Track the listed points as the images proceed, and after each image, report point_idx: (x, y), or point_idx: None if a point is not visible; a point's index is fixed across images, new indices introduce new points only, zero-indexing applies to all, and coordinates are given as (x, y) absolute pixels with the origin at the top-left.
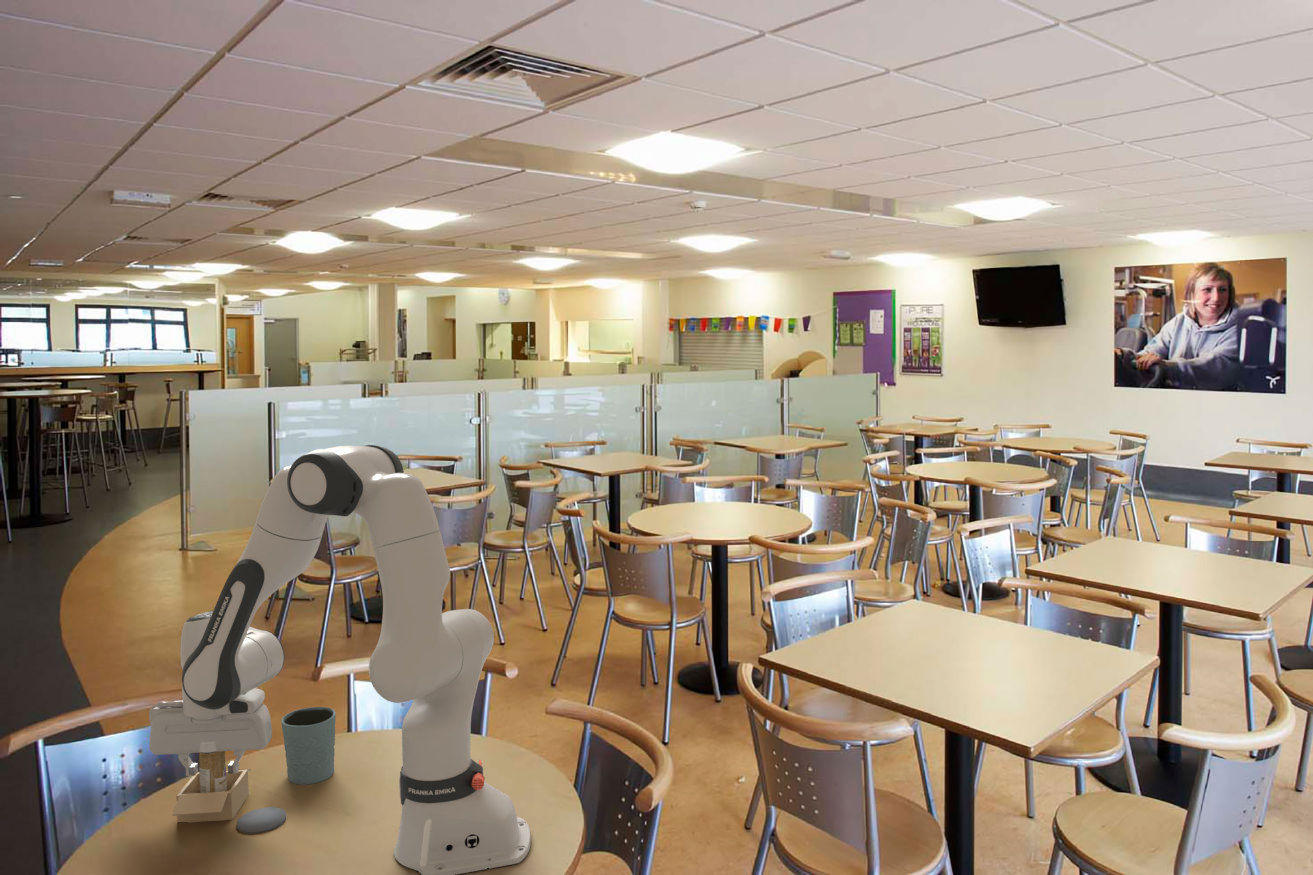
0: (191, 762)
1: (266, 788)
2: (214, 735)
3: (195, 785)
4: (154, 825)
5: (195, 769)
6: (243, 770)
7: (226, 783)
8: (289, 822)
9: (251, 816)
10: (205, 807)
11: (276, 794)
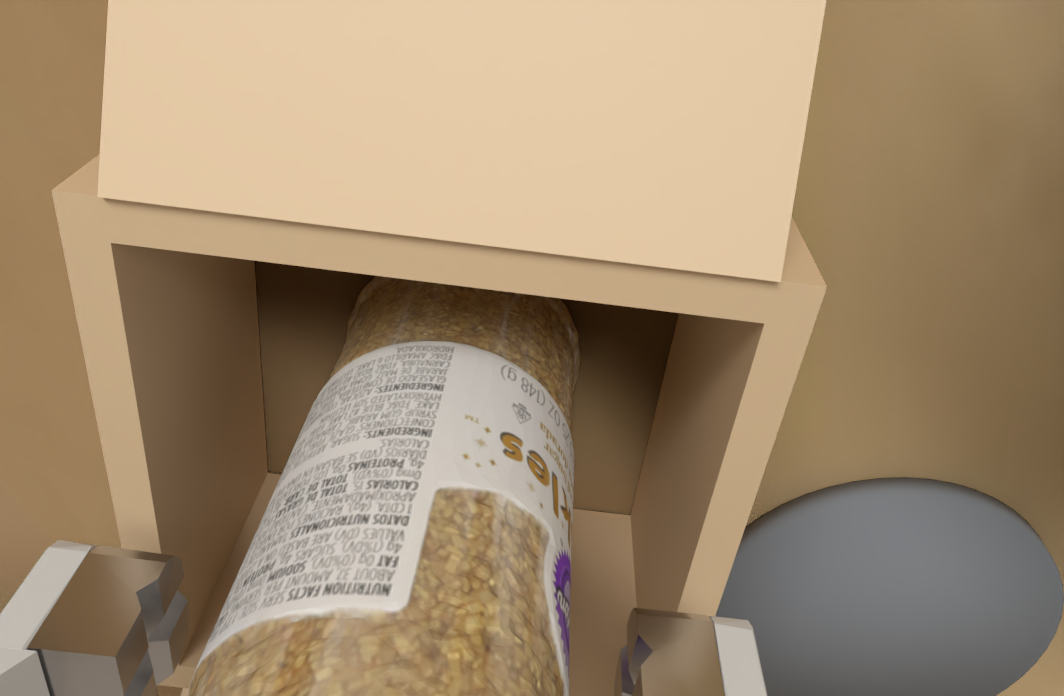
0: (21, 688)
1: (955, 17)
2: None
3: (174, 282)
4: (77, 478)
5: (146, 632)
6: (764, 305)
7: (573, 493)
8: (1056, 656)
9: (800, 590)
10: None
11: (1042, 204)
